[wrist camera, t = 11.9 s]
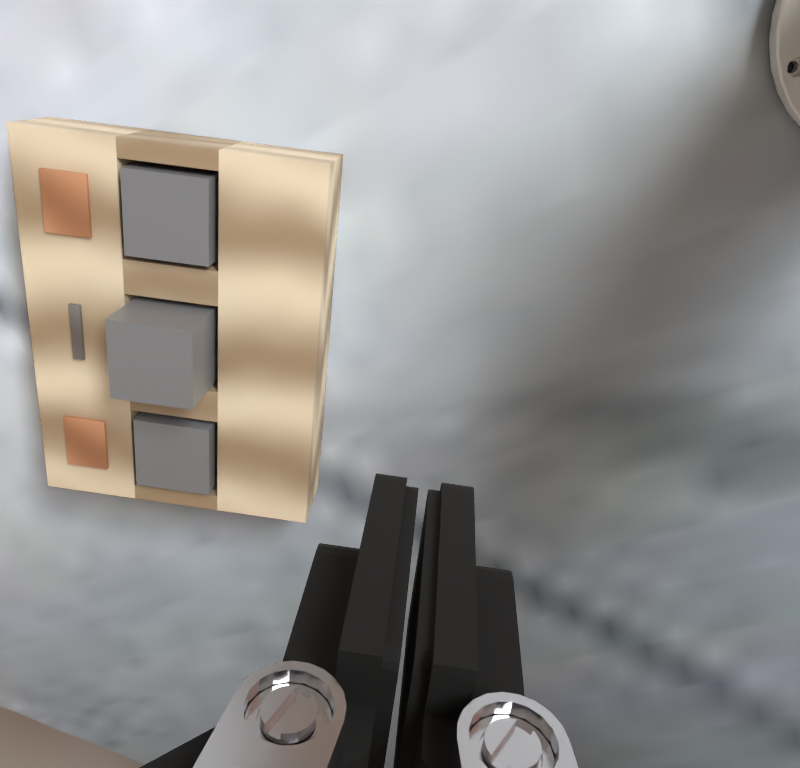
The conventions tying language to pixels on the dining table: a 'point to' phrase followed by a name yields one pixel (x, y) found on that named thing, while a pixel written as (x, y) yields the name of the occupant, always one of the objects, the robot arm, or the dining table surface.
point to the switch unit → (215, 285)
